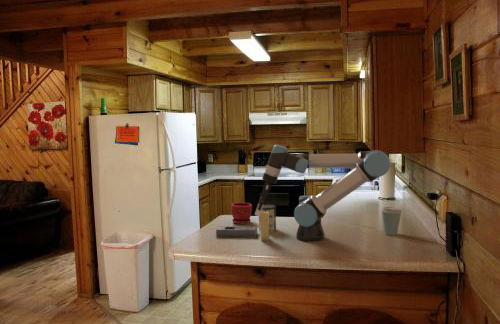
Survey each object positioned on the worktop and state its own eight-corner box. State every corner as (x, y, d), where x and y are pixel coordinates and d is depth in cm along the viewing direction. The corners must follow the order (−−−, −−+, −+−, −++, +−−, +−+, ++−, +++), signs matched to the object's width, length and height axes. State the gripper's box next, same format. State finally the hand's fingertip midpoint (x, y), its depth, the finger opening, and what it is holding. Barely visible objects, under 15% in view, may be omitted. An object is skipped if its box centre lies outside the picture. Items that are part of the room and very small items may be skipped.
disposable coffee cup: (386, 230, 240) (387, 204, 239) (405, 234, 232) (405, 207, 231) (377, 234, 233) (377, 207, 231) (396, 237, 225) (396, 210, 224)
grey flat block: (257, 233, 241) (257, 226, 241) (255, 237, 233) (255, 230, 233) (219, 233, 244) (219, 226, 244) (216, 236, 236) (216, 229, 236)
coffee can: (266, 226, 256) (266, 203, 255) (279, 229, 249) (279, 205, 248) (255, 230, 249) (254, 206, 248) (268, 232, 242) (267, 208, 241)
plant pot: (243, 225, 260) (243, 206, 259) (227, 223, 268) (227, 204, 267) (256, 221, 271) (256, 203, 270) (240, 219, 279) (239, 201, 278)
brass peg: (269, 239, 229) (268, 211, 228) (268, 241, 225) (268, 213, 224) (262, 238, 230) (261, 211, 228) (261, 240, 226) (260, 213, 224)
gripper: (266, 168, 230) (253, 203, 234) (262, 176, 206) (248, 216, 209) (279, 172, 230) (266, 208, 233) (277, 181, 205) (263, 221, 209)
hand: (258, 212), depth 221 cm, fingers open, 13 cm apart
